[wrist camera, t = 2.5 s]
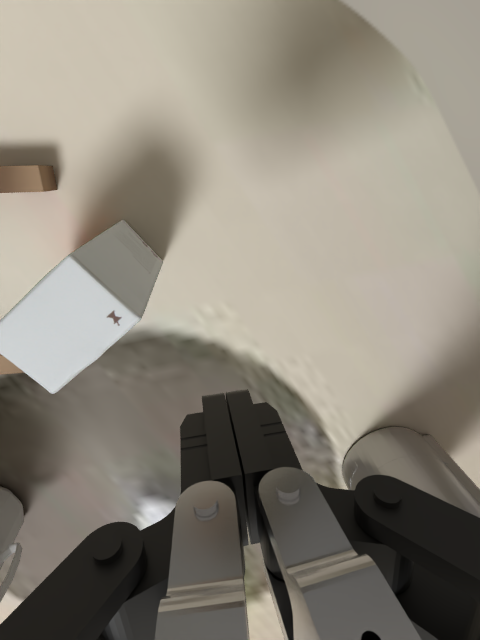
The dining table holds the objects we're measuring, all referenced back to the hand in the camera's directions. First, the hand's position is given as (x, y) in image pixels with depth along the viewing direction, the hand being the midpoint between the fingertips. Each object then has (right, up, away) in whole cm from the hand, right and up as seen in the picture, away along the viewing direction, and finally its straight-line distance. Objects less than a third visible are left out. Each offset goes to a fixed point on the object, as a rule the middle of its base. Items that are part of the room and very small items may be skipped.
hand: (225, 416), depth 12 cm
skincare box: (-9, +7, +16) cm, 20 cm away
